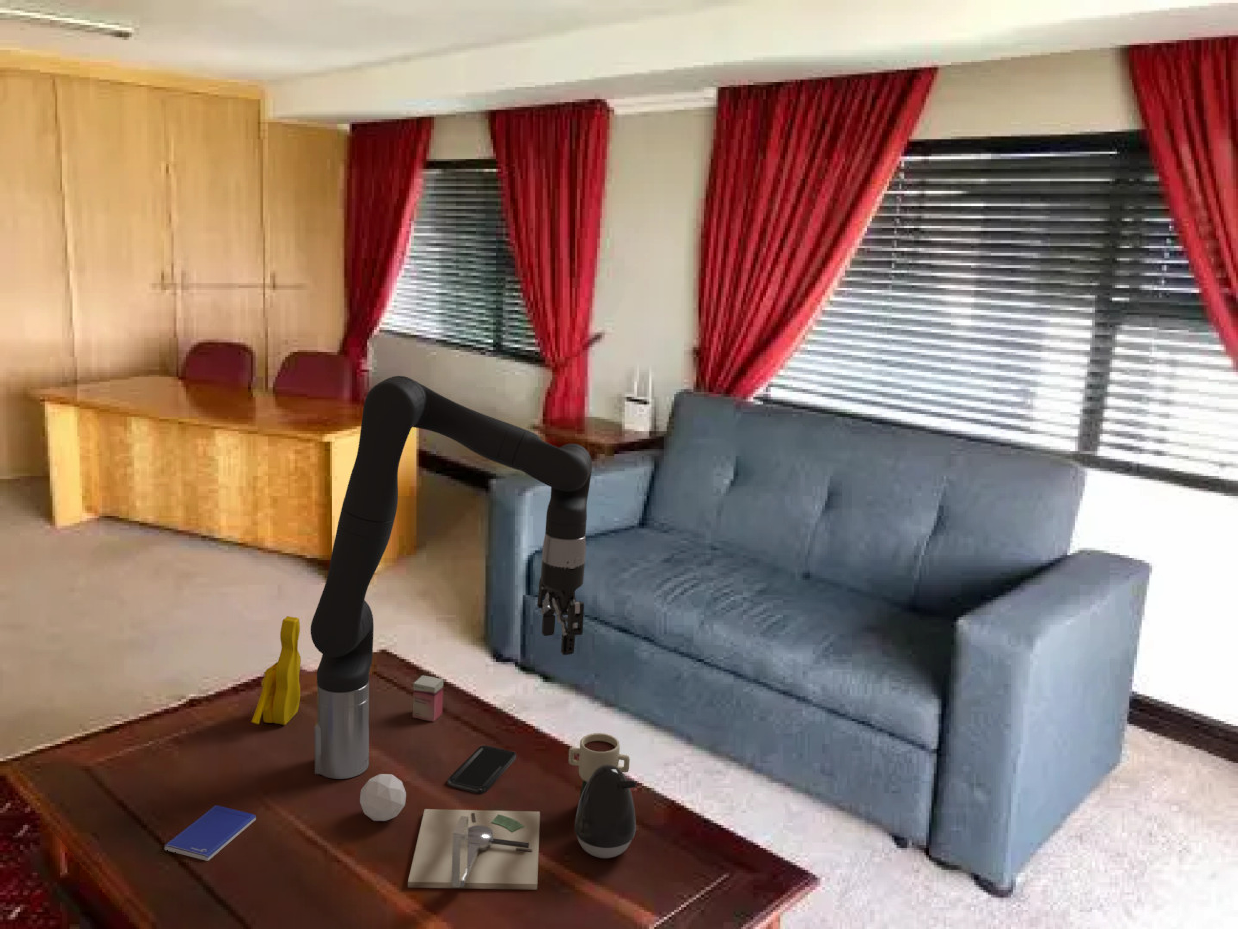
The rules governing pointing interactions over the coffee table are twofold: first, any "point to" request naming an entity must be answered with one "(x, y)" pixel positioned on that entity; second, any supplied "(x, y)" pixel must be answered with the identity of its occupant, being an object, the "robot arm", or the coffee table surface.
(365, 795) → the geometric ball
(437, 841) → the dial board
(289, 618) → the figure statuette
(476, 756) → the phone
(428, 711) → the small box
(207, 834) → the hard drive
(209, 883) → the coffee table surface
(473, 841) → the key
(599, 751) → the character mug
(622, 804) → the pump dispenser
